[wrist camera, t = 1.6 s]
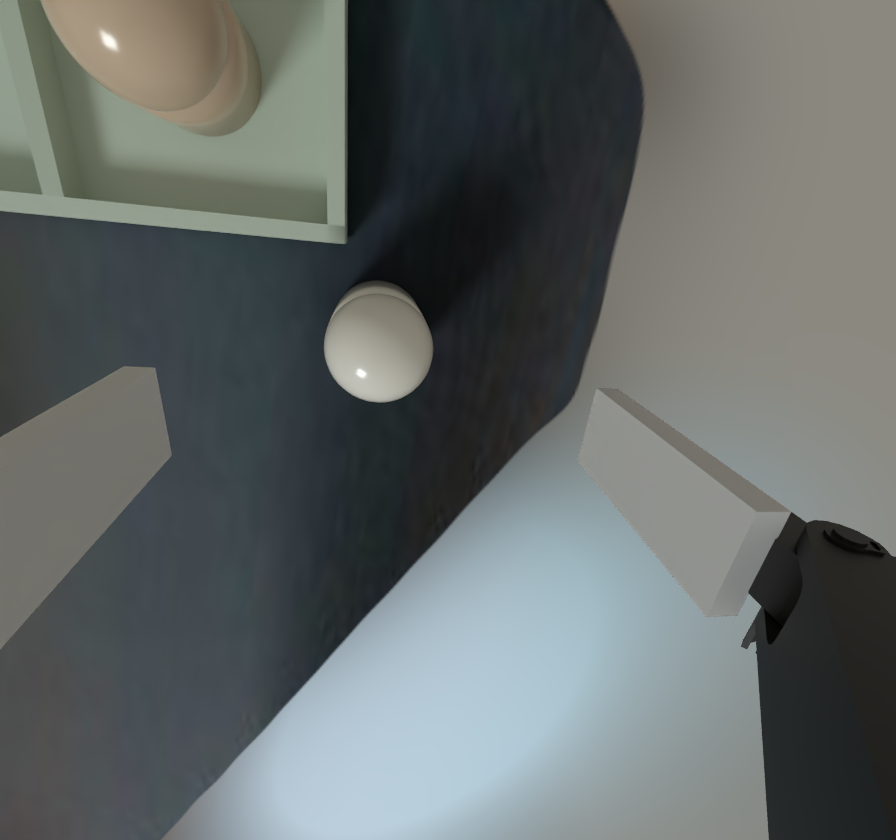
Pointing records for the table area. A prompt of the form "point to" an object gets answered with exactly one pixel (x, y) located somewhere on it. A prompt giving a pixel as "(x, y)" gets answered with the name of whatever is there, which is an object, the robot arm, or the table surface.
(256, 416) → the table surface
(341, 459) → the table surface
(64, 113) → the green divided tray
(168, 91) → the egg brown
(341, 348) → the egg white
